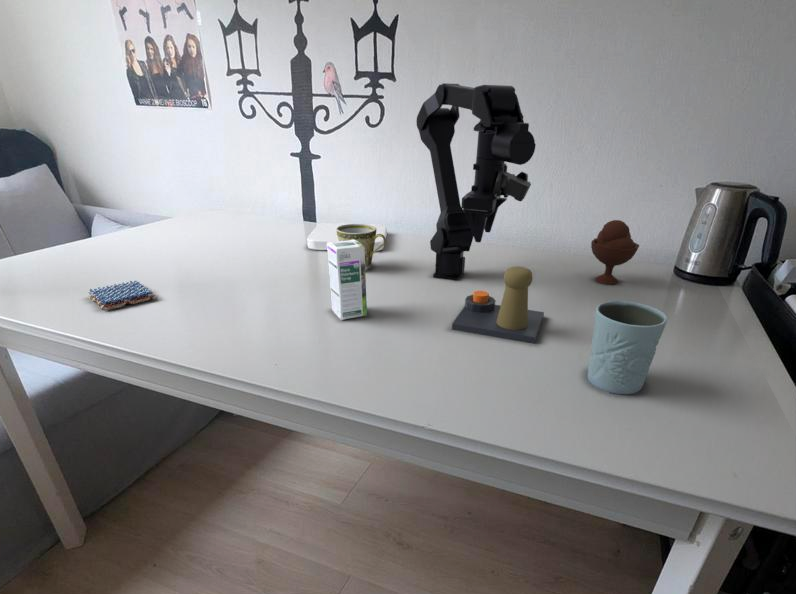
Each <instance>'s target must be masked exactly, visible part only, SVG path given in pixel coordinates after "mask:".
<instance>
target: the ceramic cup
mask: <svg viewBox="0 0 796 594" xmlns="http://www.w3.org/2000/svg"><path fill="white" fill-rule="evenodd" d="M346 224H347V225H342V226H339V227H337V228H336V231H337V236H338V241H348V240H353V239H354V240H356V241H358V242H360V243H361V244H362V245H363V246H364V249H365V272H366V271H368V270H370V269H371V268H372V263H373V256H374V254H375V253H377V252H378V251H377V250H378V249H379V248H381V247H382V246H383V245H384V246H385V244H386V241H387V238H386V239H385V237H384V235H382V234H377V235H376V228H375V227H374V226H371V225H366V224H367V223H346ZM379 236H380V237H382V238H383V239H384V243H383V244H382V245H381V246H379V247H378V248H377V249H376V250H375V251H373V250H374V244H375V239H376V238H377V237H379Z"/></svg>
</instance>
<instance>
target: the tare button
mask: <svg viewBox="0 0 796 594" xmlns="http://www.w3.org/2000/svg"><path fill="white" fill-rule="evenodd" d="M472 295H473V301H474V302H477V303H487V302H488V298H489V296H490V293H489V292H488V291H485V290H475V291H473V294H472Z"/></svg>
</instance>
